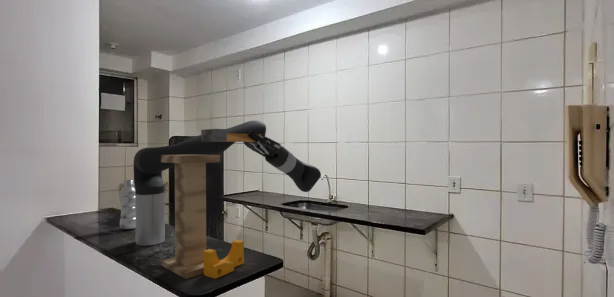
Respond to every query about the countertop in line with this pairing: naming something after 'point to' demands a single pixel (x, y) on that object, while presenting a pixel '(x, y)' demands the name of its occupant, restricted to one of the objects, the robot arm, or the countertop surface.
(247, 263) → the countertop surface
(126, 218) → the plastic bottle
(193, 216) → the stand
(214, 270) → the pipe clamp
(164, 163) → the robot arm
